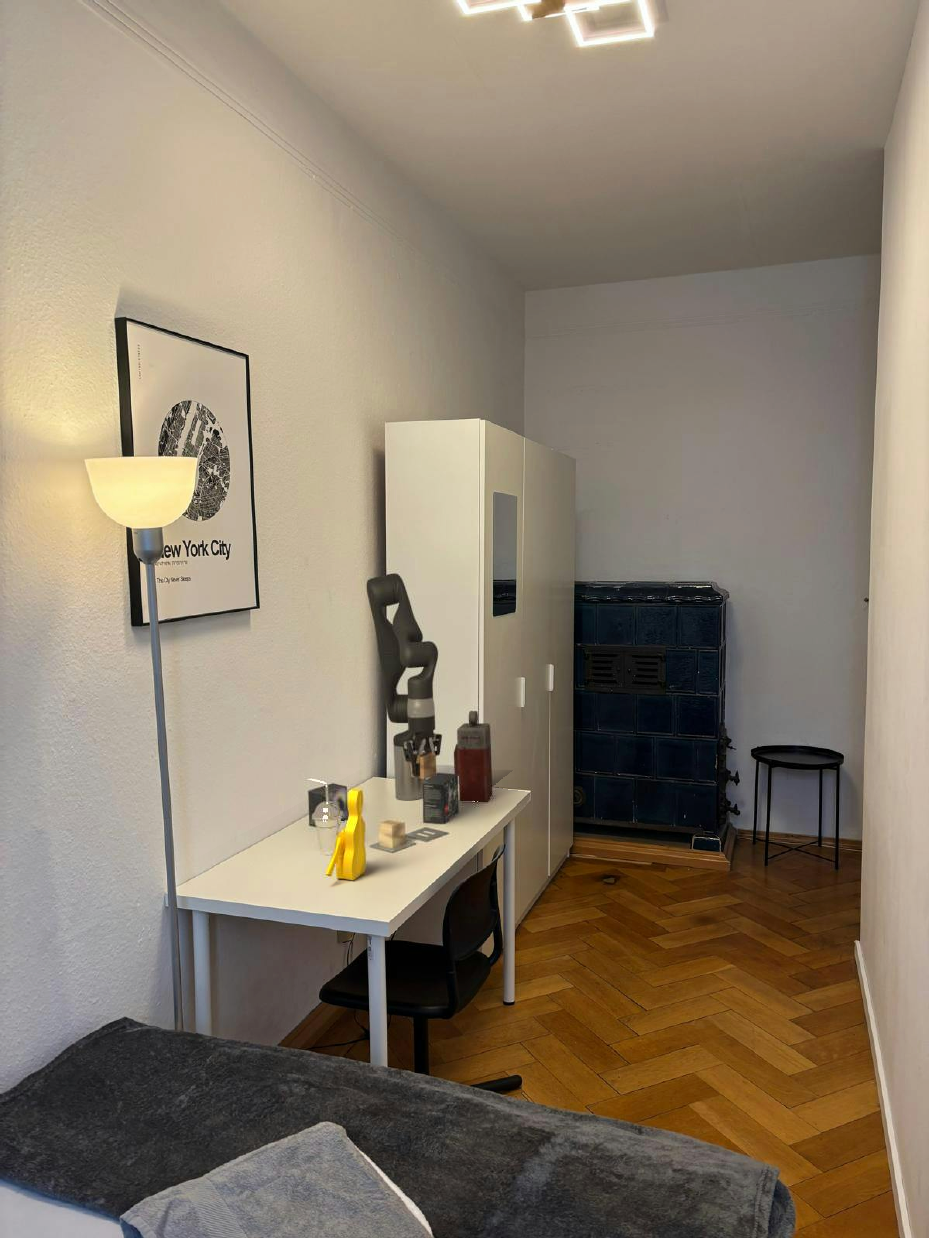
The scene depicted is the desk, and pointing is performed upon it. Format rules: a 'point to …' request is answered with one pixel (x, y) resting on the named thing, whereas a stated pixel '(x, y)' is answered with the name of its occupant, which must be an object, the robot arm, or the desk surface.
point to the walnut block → (426, 765)
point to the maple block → (392, 833)
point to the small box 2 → (440, 798)
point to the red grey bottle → (473, 760)
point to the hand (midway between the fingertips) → (423, 773)
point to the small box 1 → (335, 795)
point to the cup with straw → (327, 822)
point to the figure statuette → (350, 842)
